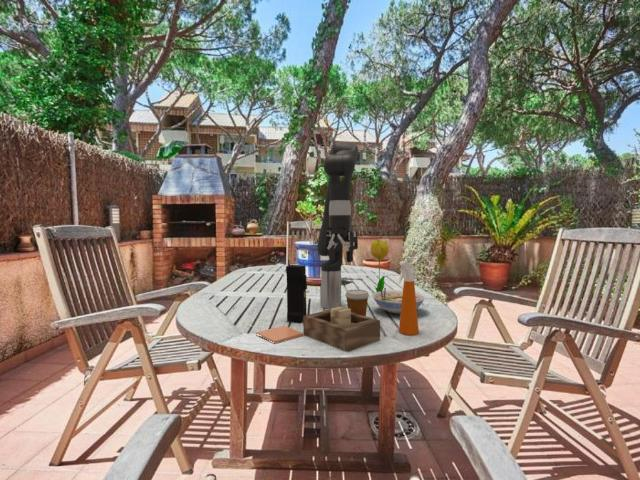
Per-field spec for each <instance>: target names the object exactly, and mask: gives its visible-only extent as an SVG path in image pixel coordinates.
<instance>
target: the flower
mask: <svg viewBox="0 0 640 480" xmlns="http://www.w3.org/2000/svg"><path fill="white" fill-rule="evenodd" d="M389 252H390V251H389V246H388V241H387V240H385V241H383V240H380V239H379V240H375V239H374V240H372V241H371V244H370V254H371V256H373V257H374V258H375V259H377V260H378V282H377V287H376V286H375V285H373V287H374V289H375V291H376V292H380V291H381V288H382V291H384V288H385V278H386V275H383V276H382V277H381V275H380V274H381V271H380V270H381V260H384V259H385V258H386V257H387V256H388V254H389Z"/></svg>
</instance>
